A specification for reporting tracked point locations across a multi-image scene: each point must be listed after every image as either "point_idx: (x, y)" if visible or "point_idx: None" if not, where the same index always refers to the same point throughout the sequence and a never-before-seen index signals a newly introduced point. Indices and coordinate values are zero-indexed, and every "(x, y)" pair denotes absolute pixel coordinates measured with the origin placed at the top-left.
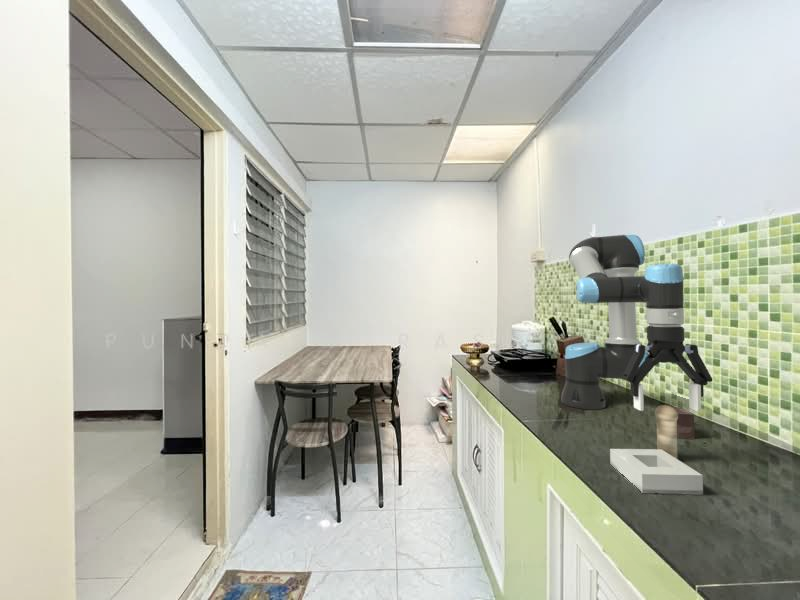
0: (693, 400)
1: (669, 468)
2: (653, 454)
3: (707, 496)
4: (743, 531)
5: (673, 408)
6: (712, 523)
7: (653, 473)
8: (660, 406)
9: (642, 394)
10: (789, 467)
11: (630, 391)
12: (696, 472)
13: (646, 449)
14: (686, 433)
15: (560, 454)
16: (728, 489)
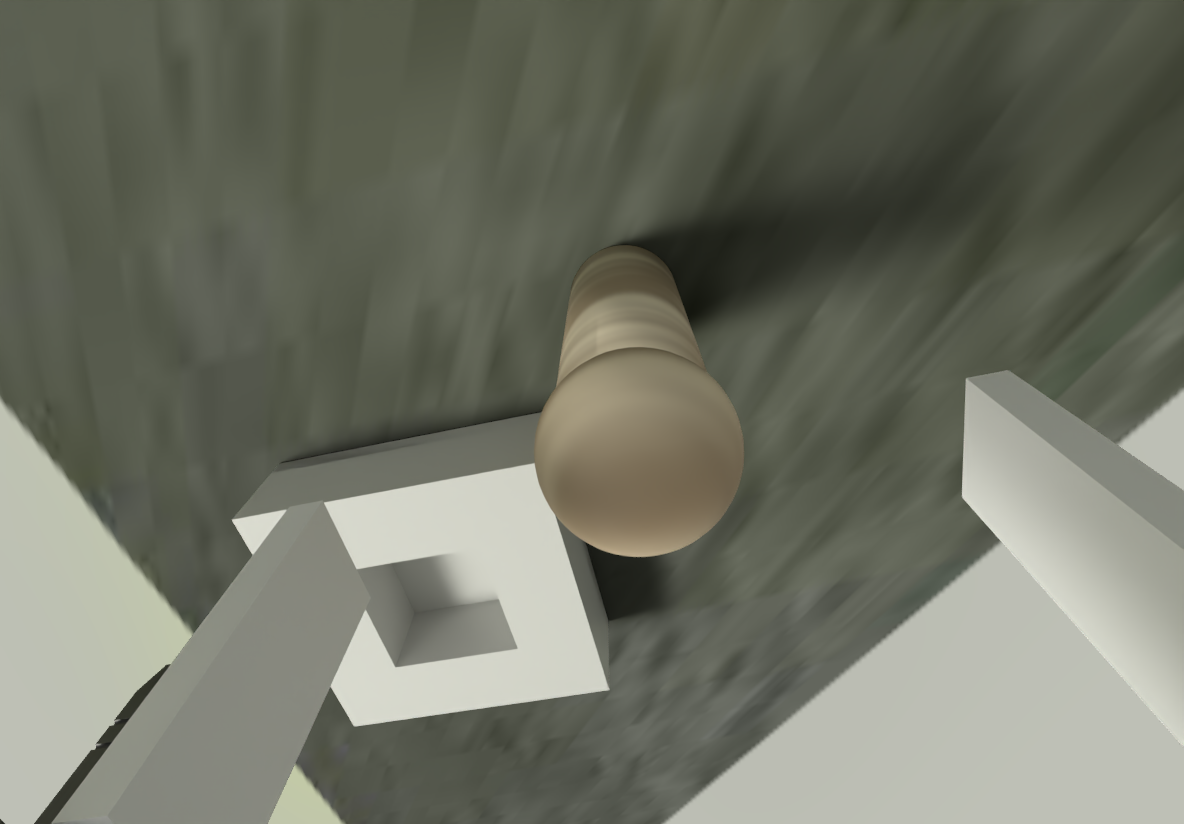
0: (1034, 510)
1: (489, 663)
2: (464, 540)
3: (619, 628)
4: (613, 765)
5: (702, 528)
6: (545, 752)
7: (403, 712)
8: (579, 500)
9: (281, 769)
10: None
11: (120, 716)
12: (595, 673)
13: (444, 484)
14: None
15: (5, 396)
16: (741, 564)
